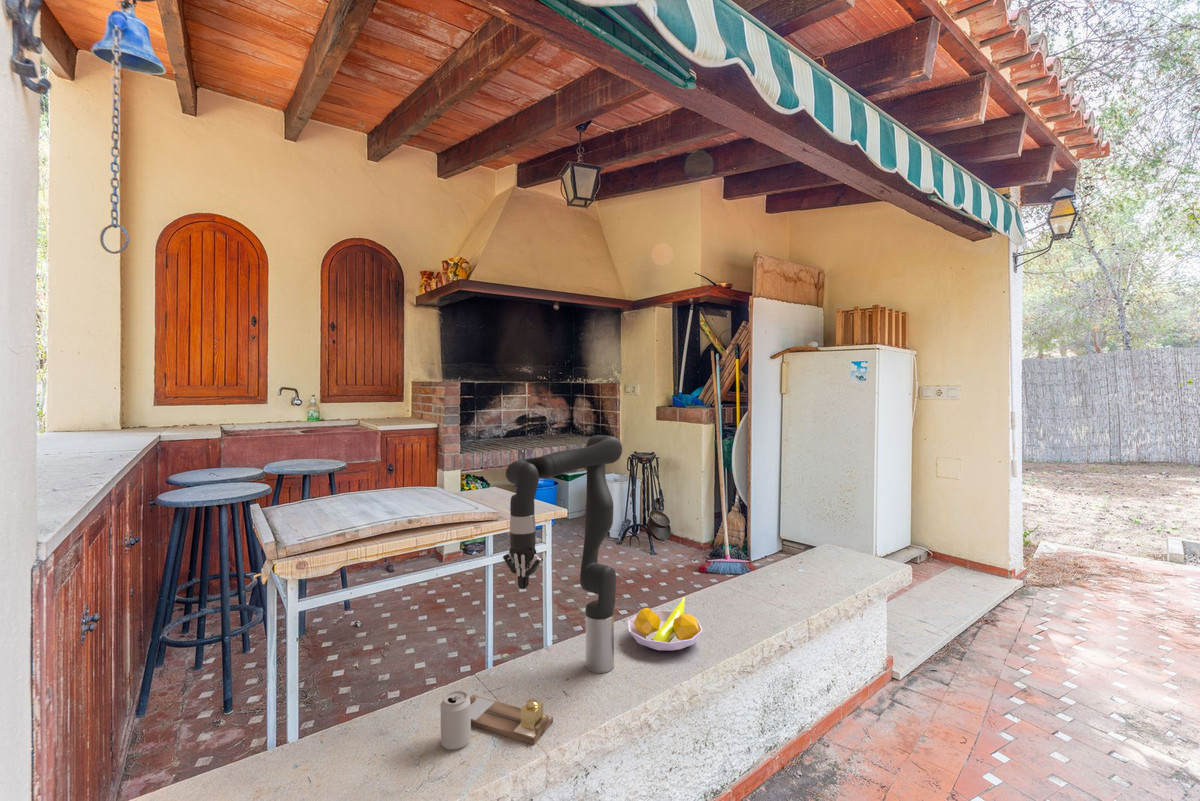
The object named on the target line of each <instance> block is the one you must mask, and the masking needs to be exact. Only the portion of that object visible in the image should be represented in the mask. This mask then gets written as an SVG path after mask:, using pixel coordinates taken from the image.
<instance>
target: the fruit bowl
mask: <svg viewBox="0 0 1200 801" xmlns="http://www.w3.org/2000/svg"><path fill="white" fill-rule="evenodd" d="M685 601H686V597H685V596H683V597H682V599H681V601H680V602H679V603H678V604H677V605H676V607H675V608H674V609H673V610H663V609H657V610H652V609H651V608H649V607H645V608H642V609H640V610H639V611H638V613H637V614H636V615H634V616H633V617H631V618H629V619H628V620H627V626H628V630H629V633H630V634H631V636H632V637H633V638H634V639H635V641H636V642H637V643H638V644H639V645H641V646H645V647H648V648H650V649H654V650H656V651H673V652H674V651H677V650H678V651H679V650H682V649H685V648H687V647H690V646H692V645H695V643H696V641H697V640H698V638H699V637H700V635H701V633H703V627H702V626H701V624H700V621H699V620H698V619H697V618H696V617H695V616H693V615H692V614H689V613H685V608H686V607H685ZM654 633H656V634H655V635H654V636H653V638H652V639H651V640H647V639H646V636H649V635H652V634H654ZM675 636H676V638H677V639H678V640H681V641H677V642H671V643H669V642H670V641H671V640H672V639H673V638H674V637H675Z"/></svg>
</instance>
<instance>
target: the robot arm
mask: <svg viewBox="0 0 1200 801" xmlns="http://www.w3.org/2000/svg"><path fill="white" fill-rule="evenodd" d="M622 454H623V447H622V443H621V441H620V440H619V439H618V438H617V437H616V436H612V435H603V434H601V435H600V434H597V435H591V437H590V438H589V439H588V441H587V442H586V445H585V447H581V448H572V449H565V450H560V451H553V452H551V453H548V454H544V455H542V456H541V455H540V456H537V457H529V458H524V459H517V460H515V461H512V462H511V463H510V464H509V465H508V466H507V468H506V471H505V477H506V479H507V481H508V482H509V483H510V484H513V485H514V486H516V493H515V494H512V495H511V497H510V507H509V509H510V510H509V511H510V518H509V546H510V548H509V550H508V552H507V553H506V554H504V555H503V556H502V559H503V561H505V564H506V565H507V567H508V568H509V571H510V572H511V573H512V574H516V575H517V585H518V588H519V589H520V590H525V589H527V588H528V587H529V584H530V583H529V577H530V576H531V575H533V574H535V572H536V571H537V570H538V568H540V565H541V564H542V563H543V561H544V558H543V557H539V555H537V549H536V538H537V537H536V532H537V531H536V516H535V498H536V495H537V492H538V491H537V489H538V485H539V479H550V478H554V477H556V476H560V475H563V474H566V473H569V472H573V471H576V470H580V469H582V468H583V469H584V468H586V494H585V495H586V497H585V512H584V514H585V515H584V536H583V537H584V538H583V540H584V541H583V549H582V557H581V564H580V573H579V574H580V575H579V581H580V582H579V583H580V584H579V585H580V587H581V589H582V590H583V591H585V592H588V593H592V594H597V595H598V596H597V599H595V600H592V601H589V602H588V603H586V605H585V612H584V613H585V668H586V670H587V671H589V672H592V673H595V674H605V673H608V672H611V671H612V670H613V669H614V668H615V667H614V666H615V630H614V629H615V627H614V626H615V619H614V618H615V617H614V616H615V613H614V612H615V605H616V599H617V598H616V596H617V573H616V571H615V568H614V567H612V566H610V565H605V564H601V563H598V562H599V560H598V559H599V557H598V556H599V551H600V548H601V545H602V543H603V542H604V540H605V538H606V537H607V535H608V534H609V532H610V531H611V529H612V526H613V524H614V523H613V522H614V501H613V497H612V494H611V491H610V489H609V486H608V483H607V479H606V465H609V464H610V465H611V464H614V463H615V462H617V461H618V460H620V458H621V456H622ZM531 564H532V565H531Z"/></svg>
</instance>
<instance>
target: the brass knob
mask: <svg viewBox="0 0 1200 801" xmlns="http://www.w3.org/2000/svg"><path fill="white" fill-rule="evenodd" d="M544 706H545V705H544V701H540V700H538V699H535V698H529V699H527V701H526V703H525V704H524V705H523V706H522V707H521V708H522V709H521V726H522V727H525V728H529V729H532V730H535V727H536V726H537V725H538V723H539V722H540V721H541V720H542V719H543V718H544V715H545V713H544Z"/></svg>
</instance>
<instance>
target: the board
mask: <svg viewBox="0 0 1200 801" xmlns="http://www.w3.org/2000/svg"><path fill="white" fill-rule="evenodd" d="M469 698H470V702H471V728H476V729H480V730H482V731H486V732H489V733H493V734H497V735H500V736H503V737H507V738H510V739H512V740H516V741H519V742H524V743H527V744H530V745H533V746H534V745H536V744H537V742H538V741H539V740H540V739H541V738H542V736H543V735H544V734H545V733H546V731H547V730H548V729H549V728H550V727H551V726H552V724H554V717H553V716H550V715H548V714H544V718H543V719H542V720H541V721H540V722H539V723H538V725H537V726H536V727H535V730H532V729H529V728H525V727H522V726H521V709H522V708H523V707H517V706H515V705H511V704H506V703H502V702H499V701H495V700H491V699H488V698H484V697H480V696H476V694H472V695H471V696H469Z"/></svg>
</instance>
